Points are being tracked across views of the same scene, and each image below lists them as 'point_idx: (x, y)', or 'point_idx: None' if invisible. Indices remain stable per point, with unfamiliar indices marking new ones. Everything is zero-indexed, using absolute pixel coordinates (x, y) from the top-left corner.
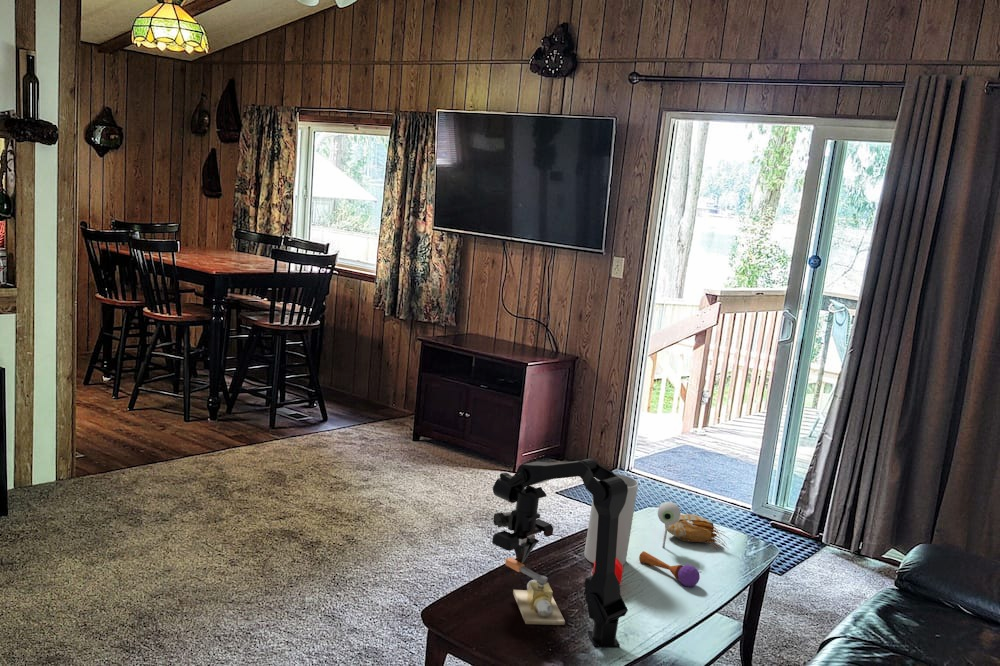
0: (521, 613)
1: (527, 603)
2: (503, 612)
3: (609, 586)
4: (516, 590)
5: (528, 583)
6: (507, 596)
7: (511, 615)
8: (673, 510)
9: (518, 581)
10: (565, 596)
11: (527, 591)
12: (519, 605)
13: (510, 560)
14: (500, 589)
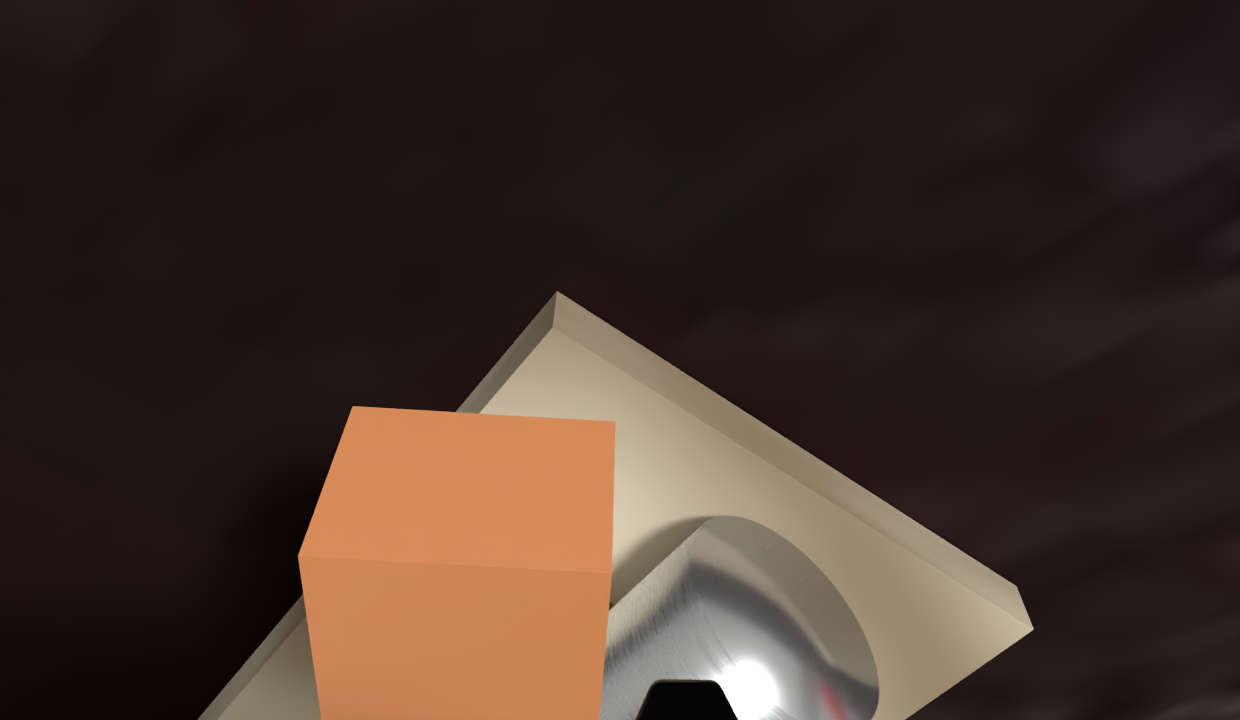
0: (228, 685)
1: None
2: (9, 559)
3: None
4: (580, 371)
5: (682, 636)
6: (387, 307)
7: (76, 644)
8: None
9: (1077, 21)
10: (1139, 699)
11: None
12: (288, 630)
13: (380, 694)
14: (458, 57)
